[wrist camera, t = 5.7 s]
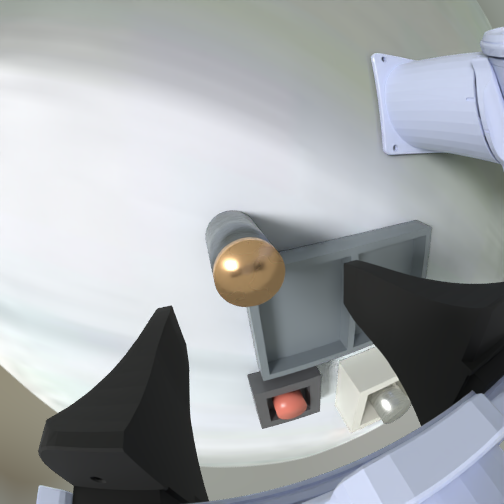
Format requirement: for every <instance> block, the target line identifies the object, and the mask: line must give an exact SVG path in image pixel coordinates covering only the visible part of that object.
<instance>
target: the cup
mask: <svg viewBox="0 0 504 504" xmlns="http://www.w3.org/2000/svg"><path fill="white" fill-rule="evenodd" d="M394 382H395V383H396V384H397V385H398V386H399V388H400V389H401V390H402V391H403V393H404V394H405V395H406V397H407V398H408V399H409V397H408V395H407V393H406V391H405V390H404V388H403V386H402V384H401V383H400V381H399V379H398V377H397V375H396V374H395V372H394V371H393V369H392V368H391V366H390V364H389V363H388V361H387V360H386V358H385V357H384V356H383V354H382V353H381V352H380V351H379V350H378V348H377V347H374V348H372V349H369V350H367V351H364V352H362V353H359V354H357V355H354V356H351V357H349V358H346V359H344V360H341V361H339V365H338V377H337V388H336V398H335V407H336V408H337V410H338V412H339V414H340V415H341V417H342V419H343V421H344V423H345V424H346V426H347V428H348V430H349V431H350V433H353V432H355V431H357V430H360V429H362V428H364V427H366V426H369V425H371V424H373V423H375V422H377V421H379V420H381V418H380V417H379V415H378V414H377V412H376V411H375V409H374V408H373V406H372V405H371V403H370V402H369V400H368V399H367V397H368V395H369V394H371V393H373V392H376V391H378V390H380V389H382V388H384V387H386V386H388V385H390V384H392V383H394ZM409 400H410V399H409Z"/></svg>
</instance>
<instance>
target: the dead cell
mask: <svg viewBox="0 0 504 504" xmlns="http://www.w3.org/2000/svg"><path fill="white" fill-rule="evenodd" d="M367 399H368V400H369V402H370V403H371V405H372V406H373V408H374V409H375V411H376V412H377V414H378V415H379V417H380V418H381V420H382V421H383V423H384V424H389V423H391V422H394V421H395V420H397V419H398V418H400V417H401V416H403V415H404V414H405V413H406V412H407V411H408V409H409V408H410V406H411V402H410V400H409V399H408V398H407V397H406V395H405V394H404V393H403V391H402V390H401V389H400V388H399V386H398V385H397V384H396V383H395V382H394V383H392V384H390V385H388V386H386V387H384V388H382V389H380V390H378V391H376V392H373V393H371V394H369V395H368V397H367Z"/></svg>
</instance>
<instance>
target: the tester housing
mask: <svg viewBox="0 0 504 504" xmlns="http://www.w3.org/2000/svg"><path fill="white" fill-rule="evenodd" d="M248 379H249V383H250V387H251V391H252V395H253V399H254V403H255V407H256V411H257V414H258V417H259V420H260V424H261V427H262V429H264V428H268V427H271V426H275V425H279V424H282V423H286V422H289V421H292V420H295V419H299V418H302V417H305V416H308V415H311V414H314V413H317V412H319V411H320V394H321V374H320V372H319V371H318V369H317V367H316V366H313V367H310V368H307V369H304V370H301V371H297V372H294V373H291V374H287V375H284V376H280V377H277V378H273V379H270V380H266V381H263V378H262V375H261V373H260V372H257V373H253V374H249V375H248ZM298 389H300V391H301V393H302V395H303V398H304V400H305V402H306V404H307V409H306V410H305V411H304V412H303V413H302V414H301V415H299V416H298V417H295V418H292V419H280V418H279V417H278V415H277V413H276V410H275V407H274V405H273V402H272V397H275V396H278V395H282V394H285V393H289V392H292V391H295V390H298Z"/></svg>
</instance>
